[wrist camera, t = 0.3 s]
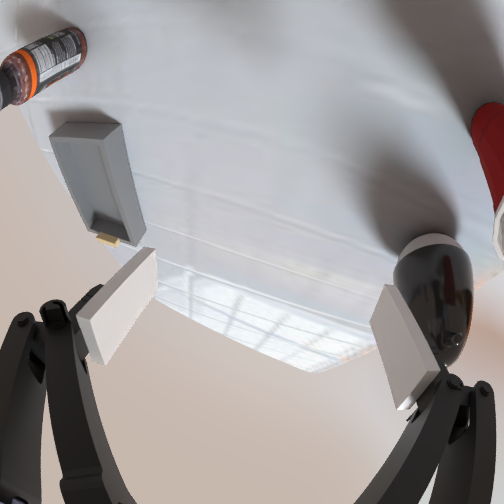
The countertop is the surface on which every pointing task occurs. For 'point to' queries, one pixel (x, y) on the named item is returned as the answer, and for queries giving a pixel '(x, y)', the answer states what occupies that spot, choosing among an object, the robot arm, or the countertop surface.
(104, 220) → the trough
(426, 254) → the pump dispenser
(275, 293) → the countertop surface
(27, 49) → the supplement bottle
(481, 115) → the plastic cup
